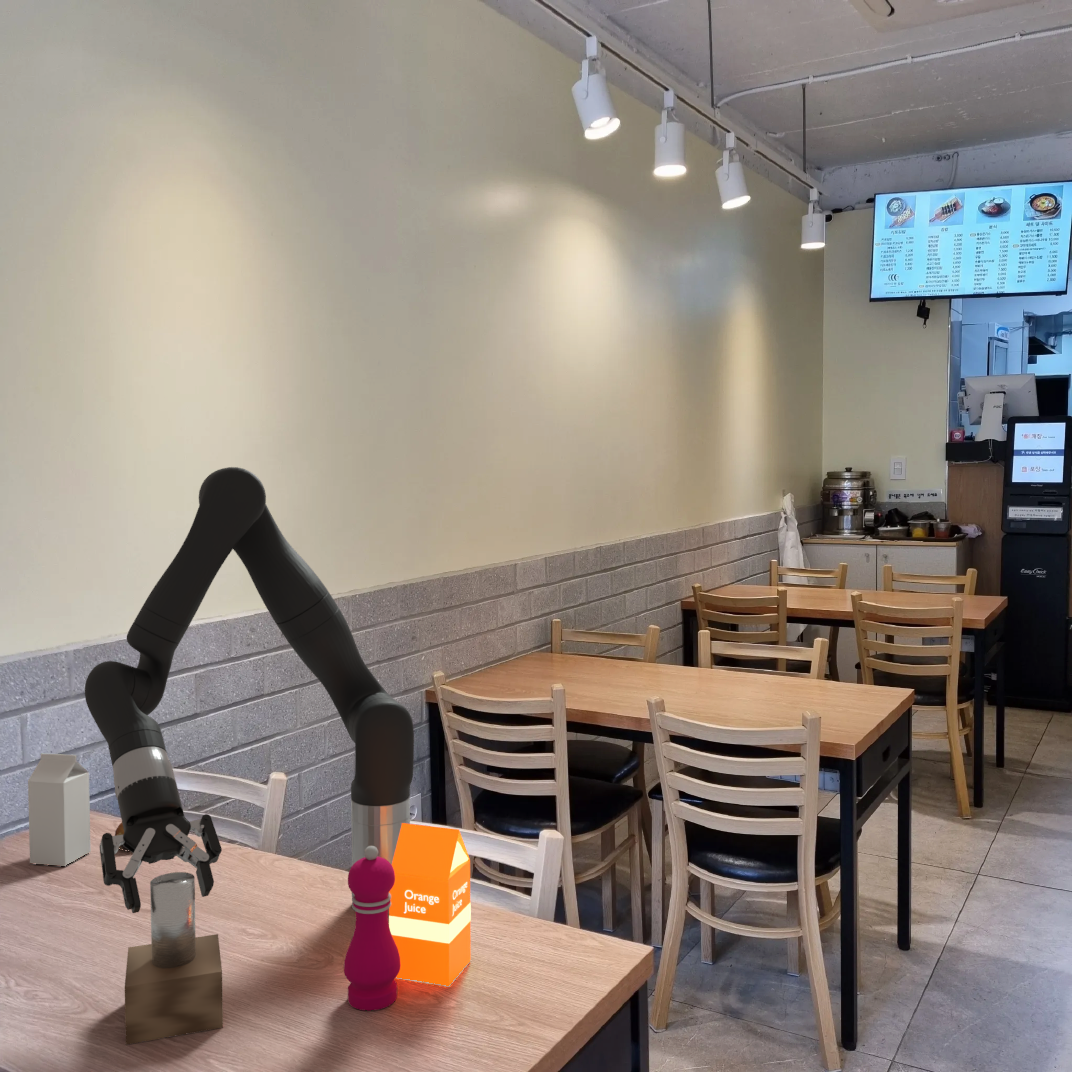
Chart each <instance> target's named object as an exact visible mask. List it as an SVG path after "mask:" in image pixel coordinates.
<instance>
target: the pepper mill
mask: <svg viewBox="0 0 1072 1072" xmlns="http://www.w3.org/2000/svg"><path fill="white" fill-rule="evenodd" d="M364 855H365V857H364V858H361V859H360V860H358V861H356V862H355V863H354V864H353V865H352V864H351V866H350V869H349V871H348V875H347V885H348V889H349V890H350V891H351V894H352V893H353V894H354V895H353V897H352V896H351V901H352V902H353V904H352V902H351V908H352V910H353V911H354V912H355V923H354V925H355V927H354V931H353V935H352V938H351V940H350V943H349V946H348V948H347V950H346V952H345V953H346V954H345V957H344V963H343V974H344V975H345V976H344V977H345V978H346V980H348V981H347V982H349V985H348V987H347V1001H348V1003H349V1005H350V1006H351V1007H352V1008H354V1009H357V1010H360V1011H365V1010H367V1011H366V1012H369V1011H371V1010H374V1011H378V1010H383V1009H385V1008H387V1007H390V1006H391V1005H393V1004H394V1003H395V1002H394V1001H396V1000H397V998H398V984H397V981H396V979H395V978H396V976H397V975H398V973H399V971H400V967H401V964H400V956H399V952H398V948H397V946H396V944H395V941H394V939H393V937H392V934H391V932H390V928H389V915H388V909H389V908H390V906H391V900H390V899H391V894H390V893H389V891H390V890H391V889H392V887H393V886H394V883H395V873H394V869H393V867H392V865H391V864H390V862H389V861H387V860H386V859H384V858H382V857H378V850H377V848H376V847H375V846H369V847H367V848H366V849H365V852H364ZM389 1005H390V1006H389ZM371 1012H372V1011H371Z"/></svg>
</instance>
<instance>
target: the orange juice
mask: <svg viewBox="0 0 1072 1072" xmlns="http://www.w3.org/2000/svg"><path fill="white" fill-rule="evenodd" d="M392 867H393V869H394V873H395V883H394V886H393V887H392V889H391V890H390V891H389V893H390V894H391V899H390V900H391V906H390V908H389V915H388V924H389V928H390V932H391V934H392V937H393V939H394V941H395V944H396V946H397V948H398V952H399V956H400V964H401V967H400V971H399V973H398V975H397V976H396V977H397V978H402V979H410V980H417V981H422V982H423V981H424V982H429V983H433V984H434V983H435V984H441V985H446V986H449V985H450V984H451V983H452V982H453V980H454V979H455V978H456V977H457V976H458V975H459V973H460V972H461V971H462V970H463V968H464V967H465V966H466V965H467V964H468V963H469V962H470V960H471V959H472V957H471V950H472V949H471V947H472V946H471V937H472V936H471V920H472V913H471V911H472V906H471V904H472V903H471V859H470V856H469V853H468V851H467V846H466V844H465V842H464V838H463V835H462V834H461V831H460V829H457V828H450V827H439V826H431V825H422V824H413V823H410V824H406V823H402V825H401V829H400V834H399V838H398V842H397V846H396V850H395V854H394V858H393V862H392ZM471 961H472V960H471Z"/></svg>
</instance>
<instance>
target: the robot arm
mask: <svg viewBox="0 0 1072 1072" xmlns="http://www.w3.org/2000/svg"><path fill="white" fill-rule="evenodd" d="M266 503H267V494H266V490H265V486H264V484H263V483H262V481H261V480H260V479H259V477H258V476H257V475H256V474H254V473H253V472H251V471H250V470H248V469H245V468H241V467H238V466H237V467H235V466H231V467H224V468H220V469H217V470H215V471H213V472H211V473H210V474H208V476H207V477H206V478H205V479H204V480H203V482H202V483H201V485H200V488H199V490H198V504H199V505H198V509H197V510H196V514H195V517H194V519H193V522H192V524H191V527H190V529H189V530H188V533H187V535H186V537H185V540H184V541H183V542H182V545H181V547H180V549H179V550H178V552H177V553H176V554H175V556H174V558H173V559H172V560H171V562H170V564H169V565H168V567H167V568H166V569H165V571H164V573H162V575H161V576H160V578H159V579H158V581H157V582H156V584H155V585H154V586H153V588H152V590H151V592H150V593H149V595H148V596H147V598H146V600H145V602H144V603H143V604H142V607H140V610H139V611H138V613H137V615H136V617H135V619H134V621H133V622H132V624H131V626H130V628H129V630H128V632H127V635H126V642H127V643H128V645H129V646H131V648H132V649H134V650H135V651H137V652H138V653H139V660H138V664H137V666H136V667H134V666H132V665H128V664H126V663H123V662H122V663H121V662H119V661H113V660H107V661H102V662H100V663H98V664H96V665H95V666H94V667H93V669H91V671H90V672H89V674H88V675H87V677H86V679H85V683H84V698H85V702H86V706H87V708H88V711H89V712H90V715H91V716H92V718H93V720H94V722H95V724H96V726H97V727H98V730H99V731H100V733H101V734H102V736H103V738H104V740H105V741H106V742H107V746H108V751H109V755H110V759H111V760H110V761H111V765H112V770H113V771H112V772H113V784H114V794H115V797H116V799H117V804H118V808H119V814H120V817H121V822H122V824H123V828H124V834H123V835H117V836H115V835H112V833H110V832H105V833H103V835H102V836H101V840H100V843H99V853H100V863H101V870H102V871H101V872H102V878H103V879H102V880H103V884H104V885H105V886H107V887H109V886H112V885H117V886H119V887H120V888H121V892H122V898H123V902H124V905H125V908H126V909H127V910H131V912H132V914H136V913H140V910H141V907H142V905H141V903H142V902H141V897H140V891H139V888H138V884H137V879H136V877H135V875H136V873H137V872H138V871H139V869H140V868H141V865H142V863H143V862H145V863H148V864H149V865H151V864H155V863H157V862H160V861H169V860H174V858H175V857H176V858H177V857H178V858H179V859H180V860H182V861H183V862H184V863H188V864H189V865H191V866H193V867H194V868H196V871H195V874H196V879H197V882H198V887H199V890H200V894H201V897H207V896H208V897H209V895H210V892H211V891H212V889H213V887H214V883H215V880H214V876H213V872H212V868H211V864H215V863H218V860H219V857H220V855H221V853H222V851H223V849H222V846H221V843H220V840H219V837H218V834H217V831H216V828H215V825H214V822H213V819H212V817H211V815H210V814H209V813H205V814H203V815H202V816H201V818H199V819H198V818H197V819H195V820H191V821H189V819H188V818H186V816H185V813H184V808H183V804H182V801H181V797H180V792H179V788H178V784H177V780H176V776H175V773H174V769H173V765H172V763H171V761H170V758H169V756H168V754H167V749H166V745H165V741H164V738H163V733H162V730H161V727H160V725H159V723H158V721H156V720H155V719H154V718H153V717H151V716H149V715H150V714H152V713H153V712H154V710H156V708H157V707H158V706H159V704H160V702H161V701H162V699H163V697H164V693H165V690H166V686H167V682H168V679H169V674H170V671H171V667H172V665H173V664H172V663H173V659H174V654H175V652H176V649H177V648H178V646H179V644H180V643H181V641H182V640H183V637H184V636H185V634H186V632H187V630H188V628H189V627H190V625H191V623H192V621H193V620H194V617H195V616H196V614H197V612H198V610H199V608H200V607H201V604H202V602H203V600H204V599H205V596H206V594H207V592H208V590H209V589H210V587H211V584H212V583H213V581H214V579H215V577H216V576H217V574H218V573H219V570H220V569H221V568H222V567H223V566H222V565H224V563H225V561H226V560H227V558H228V556H229V555H230V554H231V552H232V551H234V552H235V554H236V555H237V556H238V558H239V559H240V561H241V562H242V564H243V566H244V567H245V569H246V570H247V572H248V575H249V577H250V579H251V580H252V582H253V585H254V586H255V589H256V592H257V593H258V594H259V596H260V599H261V601H262V602H263V604H264V606H265V608H266V609H267V612H268V613H269V614H270V616H271V618H272V620H273V621H274V623H275V624H276V626H277V628H278V629H279V631H280V632H281V633H282V635H283V637H284V638H285V640H286V641H287V642H288V644H289V645H290V646H291V648H292V649H293V650H294V652H295V653H296V654H297V656H298V657H299V659H300V660H301V661H302V662H303V663H304V664H305V666H306V667H307V668H308V670H310V672H311V673H312V674H313V676H315V677H316V678H317V679H318V681H319V682H320V684H321V685H322V686H323V687H324V689H325V691H326V692H327V694H328V695H329V697H330V699H331V701H332V703H333V705H334V707H335V709H336V711H337V712H338V714H339V717H340V718H341V721H342V722H343V725H344V727H345V729H346V731H347V734H348V736H349V737H350V739H351V740H352V741H353V743H354V747H355V748H354V751H355V752H354V753H355V754H354V755H355V757H354V758H355V759H354V760H355V761H354V762H355V763H354V777H353V779H352V781H351V783H350V810H351V811H350V812H351V813H350V819H351V820H350V823H351V830H350V831H351V866H352V865H353V864H354V863H355V862H356V861H358V860H360V859H361V858H364V857H365V855H364V852H365V849H366V848H367V847H369V846H375V847H376V848H377V850H378V857H382V858H384V859H386V860H387V861H389V862H390V864H391V865H392V862H393V858H394V854H395V850H396V846H397V842H398V838H399V834H400V829H401V825H402V823H406V824H411V808H410V807H411V801H410V799H411V797H410V796H411V785H412V782H413V778H414V764H415V763H414V762H415V759H414V757H415V756H414V755H415V753H414V752H415V750H414V749H415V732H414V730H415V729H414V723H413V718H412V716H411V713H410V712H409V710H408V709H407V708H406V707H405V706H403V704H402V703H400V702H398V701H397V700H396V699H394V698H393V697H392V696H391V695H390V694H389V692H387V691H386V689H385V688H384V687H383V686H382V685H381V683H379V681H378V680H377V678H376V677H375V676H374V674H373V673H372V672H371V670H370V669H369V667H368V666H367V664H366V663H365V661H364V659H363V658H362V655H361V653H360V652H359V649H358V646H357V643H356V641H355V639H354V635H353V633H352V631H351V629H350V627H349V624H348V622H347V620H346V618H345V616H344V614H343V613H342V611H341V609H340V607H339V605H338V604H337V603H336V601H335V599H334V598H333V596H332V595H331V594H330V592H329V590H328V588H327V587H326V586H325V584H324V583H323V582H322V580H321V579H320V578H319V576H318V575H317V574H316V573H315V572H314V570H313V568H311V566H310V565H309V564H308V563H307V562H306V561H305V559H304V558H303V557H302V556H301V555H300V554H299V553H298V551H296V550H295V548H293V546H292V545H291V544H290V543H289V542H288V540H287V538H286V537H285V536H284V535H283V533H282V531H281V530H280V528H279V527H278V524H277V523H276V521H275V519H274V517H273V516H272V514H271V511H270V509H269V507H268V506H267V504H266ZM190 832H194V833H195V835H196V836H197V837H201V840H202V843H203V847H204V849H205V850H204V849H202V848H201V847H199V846H198V843H197V842H195V840H193V839H192V838H190V837H189V834H190ZM120 845H123V846H124V847H125V848H127V849H128V850H129V851H130V852H129V853H131V854H132V855H130V856H131V857H130V859H129V860H128V863H127V864H126V866H125V868H124V869H123V870H122V869H121V870H120V869H117V861H116V854H117V853H118V851H119V846H120ZM353 895H354V894H353V893H352V892H351V898H352V897H353ZM352 904H353V902H351V905H352ZM388 916H389V909H388Z"/></svg>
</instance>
